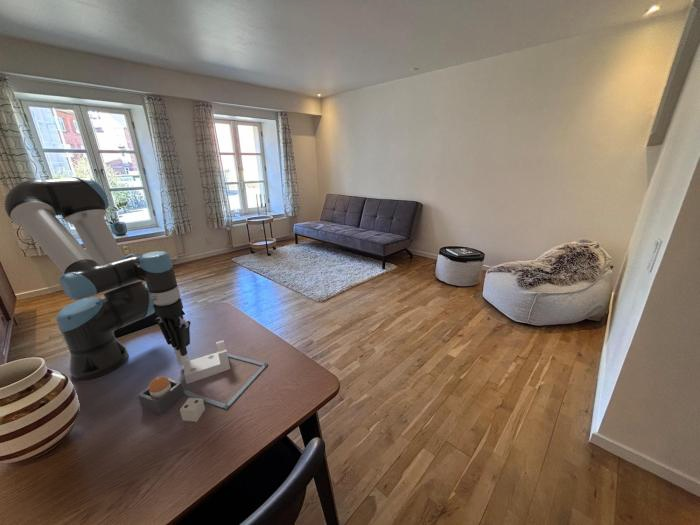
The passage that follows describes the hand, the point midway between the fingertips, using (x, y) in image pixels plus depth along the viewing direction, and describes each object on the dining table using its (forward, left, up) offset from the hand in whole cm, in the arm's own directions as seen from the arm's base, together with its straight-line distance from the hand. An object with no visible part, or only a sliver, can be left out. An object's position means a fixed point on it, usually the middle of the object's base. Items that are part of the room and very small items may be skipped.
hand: (183, 362), depth 95 cm
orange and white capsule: (+7, -13, -1) cm, 15 cm away
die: (+19, -14, -2) cm, 24 cm away
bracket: (+9, +1, -2) cm, 9 cm away
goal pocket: (+17, 0, -2) cm, 17 cm away
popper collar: (+7, -13, -2) cm, 15 cm away
